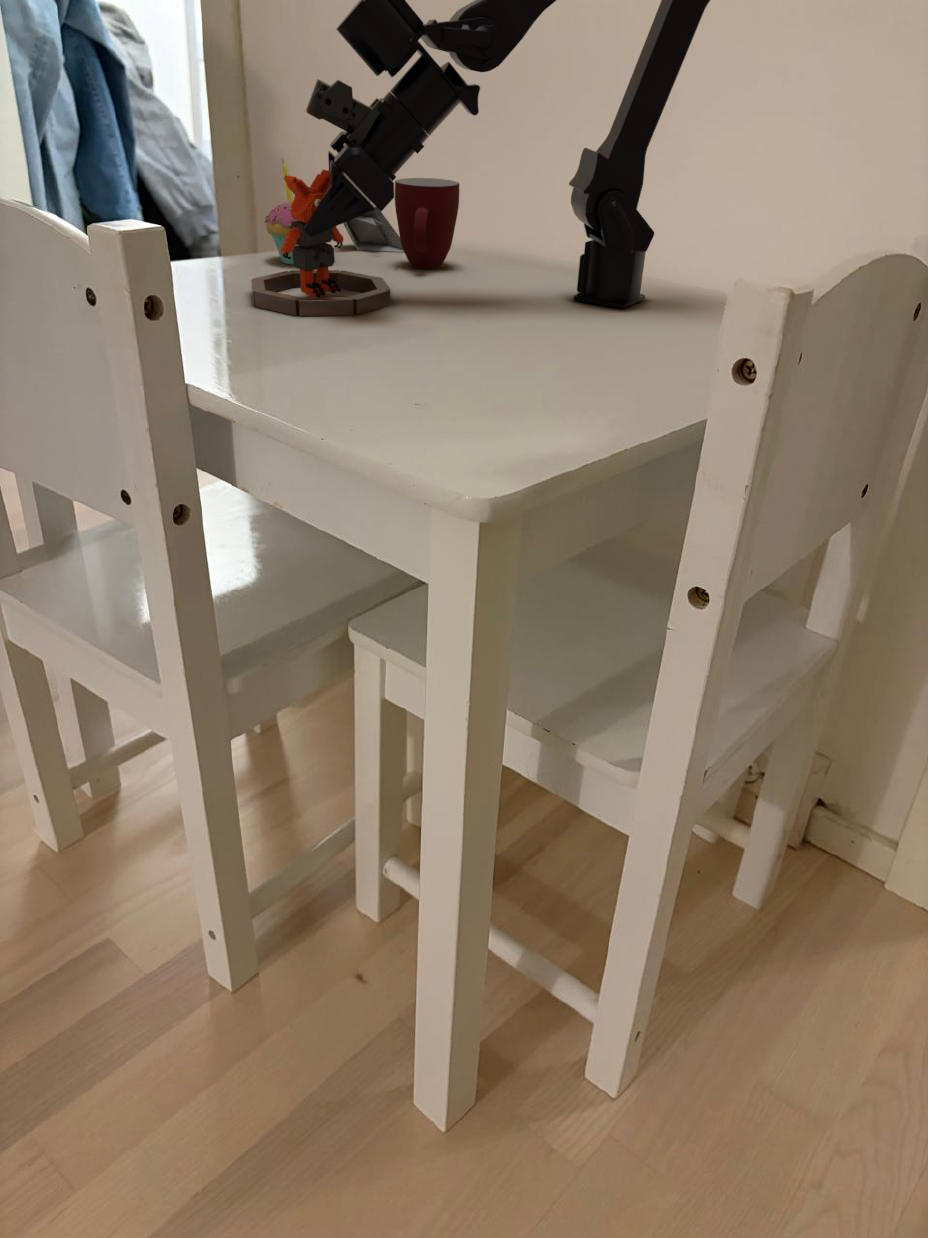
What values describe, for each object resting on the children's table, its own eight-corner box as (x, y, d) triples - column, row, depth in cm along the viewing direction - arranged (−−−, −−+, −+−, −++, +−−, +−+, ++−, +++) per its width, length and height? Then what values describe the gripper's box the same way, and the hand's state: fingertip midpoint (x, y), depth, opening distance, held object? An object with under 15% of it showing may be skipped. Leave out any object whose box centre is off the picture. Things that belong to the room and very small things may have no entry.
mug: (458, 277, 118) (461, 190, 113) (393, 275, 118) (393, 187, 112) (456, 260, 127) (458, 178, 122) (395, 258, 127) (395, 176, 121)
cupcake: (254, 263, 121) (247, 158, 114) (289, 252, 127) (283, 153, 121) (314, 271, 118) (310, 164, 112) (346, 259, 125) (344, 158, 119)
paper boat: (405, 233, 136) (430, 226, 128) (386, 274, 137) (409, 269, 128) (332, 185, 130) (353, 173, 122) (312, 228, 131) (332, 219, 123)
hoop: (413, 298, 108) (413, 283, 107) (329, 323, 97) (329, 307, 96) (313, 278, 115) (312, 264, 114) (224, 300, 104) (222, 284, 103)
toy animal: (311, 305, 101) (301, 183, 95) (280, 294, 104) (269, 175, 98) (367, 290, 106) (363, 174, 99) (336, 280, 109) (329, 166, 102)
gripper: (347, 46, 102) (251, 158, 106) (356, 49, 86) (243, 181, 90) (420, 130, 107) (326, 234, 111) (441, 147, 91) (330, 267, 95)
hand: (306, 228), depth 102 cm, fingers closed on toy animal, 5 cm apart
